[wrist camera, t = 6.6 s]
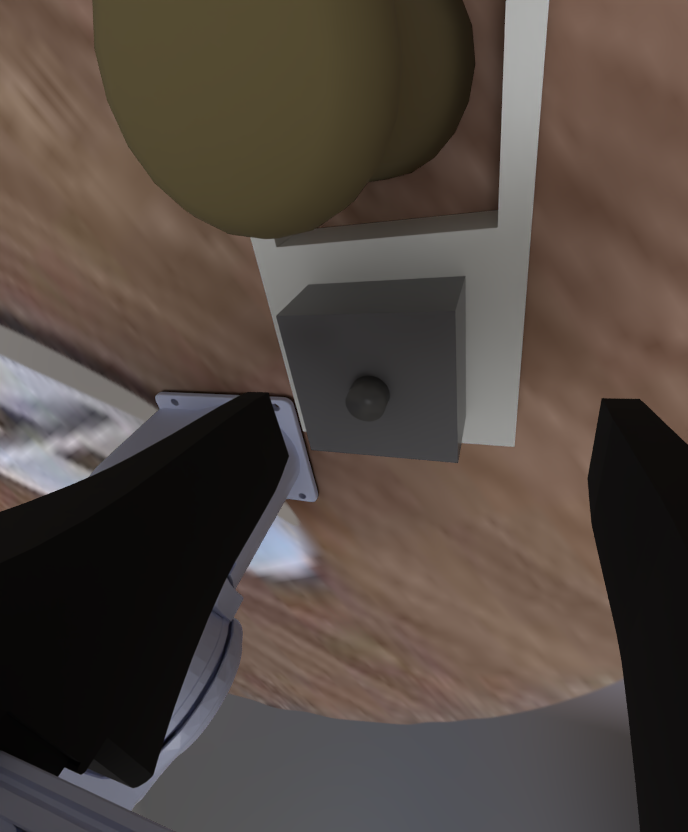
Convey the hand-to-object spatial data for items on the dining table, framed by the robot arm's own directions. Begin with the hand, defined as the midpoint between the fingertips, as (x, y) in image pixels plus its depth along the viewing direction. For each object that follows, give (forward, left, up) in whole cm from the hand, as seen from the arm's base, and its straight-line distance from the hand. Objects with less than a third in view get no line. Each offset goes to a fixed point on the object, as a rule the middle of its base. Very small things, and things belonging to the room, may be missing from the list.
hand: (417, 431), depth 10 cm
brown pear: (-3, +7, -11) cm, 13 cm away
